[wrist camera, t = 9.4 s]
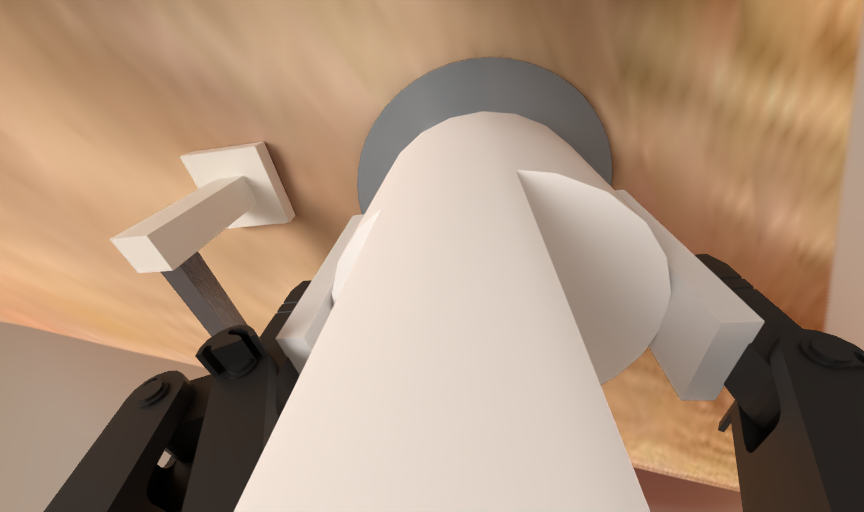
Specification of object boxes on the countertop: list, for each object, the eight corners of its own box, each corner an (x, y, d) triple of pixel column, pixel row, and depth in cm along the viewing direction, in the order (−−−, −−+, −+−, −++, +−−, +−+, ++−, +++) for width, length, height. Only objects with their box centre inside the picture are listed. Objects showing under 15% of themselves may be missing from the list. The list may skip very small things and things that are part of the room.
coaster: (327, 81, 13) (322, 83, 13) (632, 31, 12) (639, 31, 11) (389, 293, 20) (387, 299, 20) (588, 282, 18) (592, 289, 18)
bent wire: (163, 234, 12) (141, 248, 12) (394, 212, 11) (389, 226, 10) (267, 378, 18) (257, 395, 17) (432, 376, 16) (431, 394, 15)
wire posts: (180, 192, 17) (51, 262, 12) (204, 101, 14) (49, 139, 9) (445, 344, 22) (439, 439, 17) (501, 299, 20) (515, 397, 14)
